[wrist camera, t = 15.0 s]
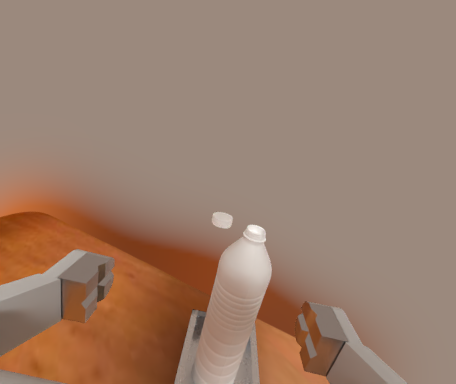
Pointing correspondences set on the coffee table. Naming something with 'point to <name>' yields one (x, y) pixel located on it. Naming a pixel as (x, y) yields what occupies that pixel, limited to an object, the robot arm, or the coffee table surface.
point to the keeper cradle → (248, 368)
